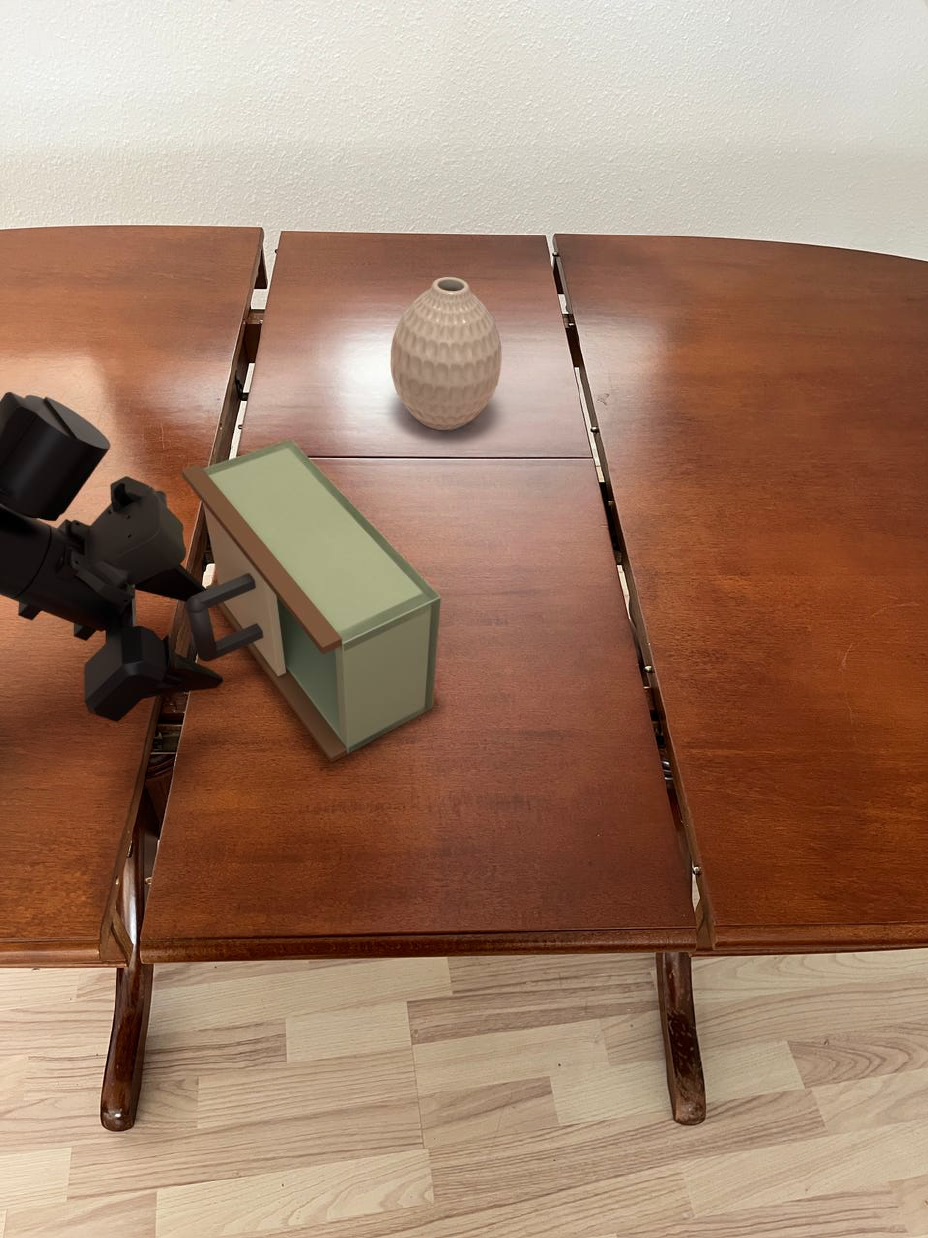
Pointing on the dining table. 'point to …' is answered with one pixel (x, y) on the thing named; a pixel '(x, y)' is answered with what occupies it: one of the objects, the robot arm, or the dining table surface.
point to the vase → (446, 356)
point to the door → (236, 605)
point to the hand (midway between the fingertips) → (214, 639)
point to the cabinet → (328, 596)
